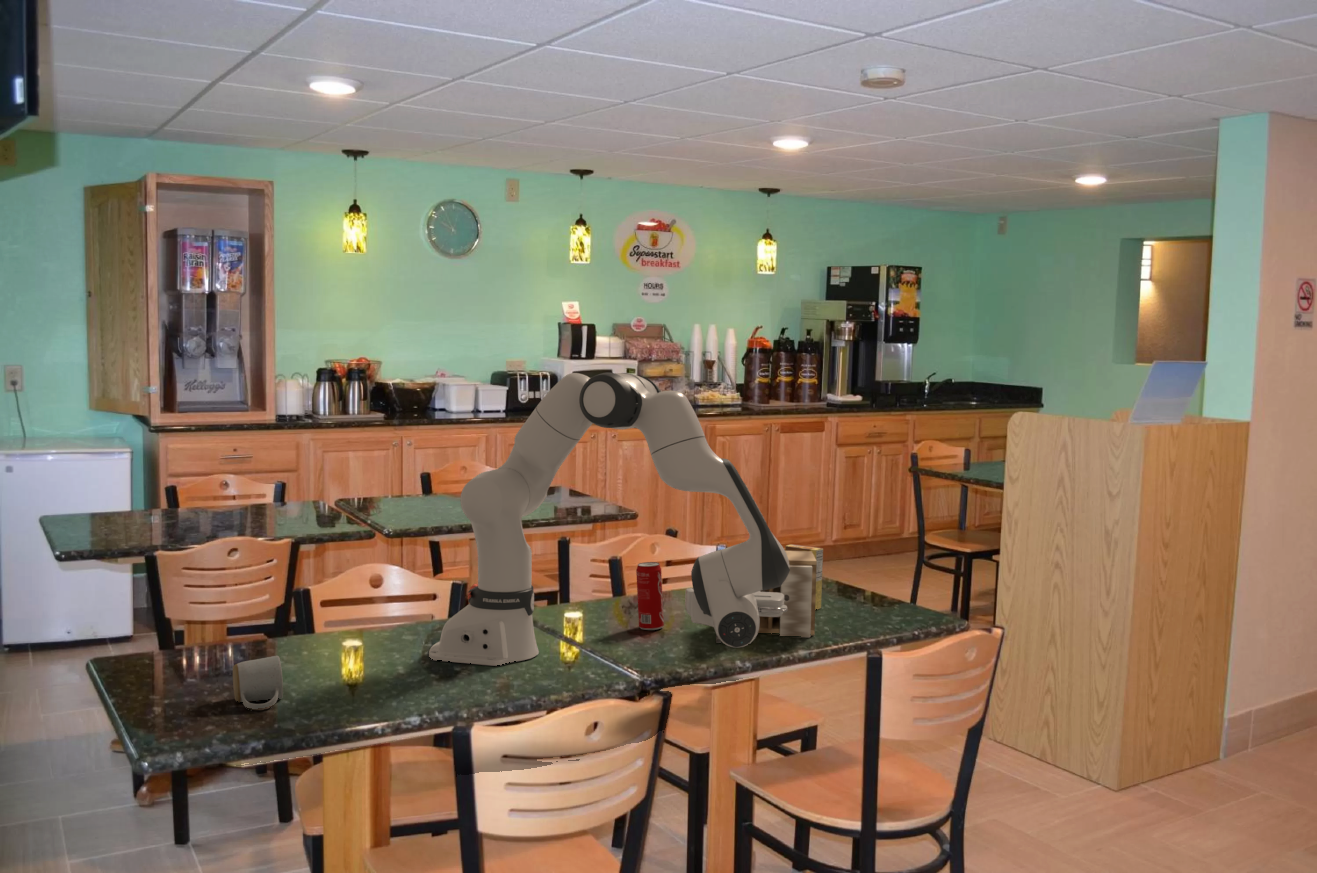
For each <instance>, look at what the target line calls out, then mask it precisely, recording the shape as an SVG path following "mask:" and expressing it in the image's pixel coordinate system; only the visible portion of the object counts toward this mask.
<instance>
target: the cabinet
mask: <svg viewBox="0 0 1317 873" xmlns="http://www.w3.org/2000/svg"><path fill="white" fill-rule="evenodd" d="M785 552H786V554H787V557H788V560H789V569H790V571H789V574H788V576H787V578H786V579H785V581H784V582H783V584H782V585H781V586H780V587H777V588H772V589H768V590H764V591H763V590H761V591H760V592H778V593H782V594H784V605H786V606H787V608H788V610H787V612H783V614H782V615H781V616H779V617H762V616H759V618H760V625H759V631H758V633H771V634H770V635H773V634H772V633H780V635H779V637H780V636H801V637H800V638H811V636H815V630H816V629H815V626H816V623H815V622H816V610H815V601H816V567H817V561H816V559H815V557H814V555H813V553H812V551H785ZM810 634H811V635H810ZM715 642H716V643H721V644H722V641H721V640H720V639H719V637H718V636H717V634H716V633H715ZM716 643H715V644H716ZM751 643H752V642H751ZM751 643H750V644H751Z"/></svg>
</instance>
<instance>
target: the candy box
mask: <svg viewBox="0 0 1317 873" xmlns="http://www.w3.org/2000/svg"><path fill="white" fill-rule="evenodd" d="M784 550H785V551H812V553H813V555H814V557H815V559H816V561H817V567H816V601H815V611H817V610H820V609H821V608H822V588H823V565H824V563H823V561H824V548H823V547H819V546H818V547H816V546H809V545H800V544H792V543H791V544H787V545H785V547H784ZM816 609H817V610H816Z"/></svg>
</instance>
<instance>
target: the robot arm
mask: <svg viewBox="0 0 1317 873" xmlns="http://www.w3.org/2000/svg"><path fill="white" fill-rule="evenodd" d="M593 424H594V425H595V426H597V427H599V428H603V429H604V428H605V429H612V430H613V429H614V430H628V429H637V430H639V431H640V432H641V433H642V435H643V436H644V438H645V442H646V443H647V446H648V449H649V450H648V451H649V453H650V455H651V459H652V462H653V464H654V467H655V470H656V471H657V474H658V476H659V478H660V479H661V481H662V482H664V483H665V484H666V485H667V486H668V487H670V488H673V489H674V490H678V491H682V492H688V493H689V492H690V493H693V492H696V493H709V494H711V493H713V494H719V495H721V496H724V498H725V497H726V498H727V499H728V500H729V501H730V502H731V503H732V505H733V507H734V508H735V510H736V512H737V514H738V516H739V518H740V520H741V521H742V523H743V525H744V527H745V528H746V531H747V533H748V534H749V537H748V539H747V540H744V542H741V543H737V544H734V545H731V546H728V547H724V548H723V549H722V548H721V549H717V550H715V551H712V552H709V553H706V554H703V555H700V556H698V557H697V558H696V560H695V561H694V563H693V566H692V568H691V571H690V572H691V573H690V574H691V583H692V587H688V588H685V594H684V596H685V597H684V598H685V601H684V608H685V611H686V613H687V614H688V615H689V617H690V619H691V622H692V623H693V624H698V625H703V626H707V627H712V628H714V631H715V635H716V634H717V636H718V637H719V639H720V640H721V643H723V644H725V645H726V646H728V647H731V648H744V647H746V646H749V645H748V644H750V643H752V642H753V641H754V640H755V639H756V638H757V636H758V635H759V634H758V631H759V625H760V618H759V616H762V617H779V616H781V615H782V614H783V612H787V610H788V608H787V606H786V605H784V594H782V593H778V592H760V591H761V590H763V591H764V590H768V589H772V588H777V587H780V586H781V585H782V584H783V582H784V581H785V579H786V578H787V576H788V574H789V571H790V569H789V560H788V557H787V554H786V552H785V547H784V546H783V545H782V544H781V543H780V541H779V540H778V539H777V537H776V536H775V534H774V533H773V531H772V530H771V529H770V528H769V526H768V523H767V521H766V520H765V517H764V515H763V513H762V512H761V510H760V508H759V506H758V505H757V503H756V501H755V499H754V496H752V493H751V492H750V490H749V488H748V486H747V484H746V483H745V482H744V480H743V479H742V476H741V475H740V473H739V472H738V470H737V468H736V467H735V465H734V464H733V462H731V460H730V459H727V458H721V457H719V456H718V455H717V454H716V453H715V451H713V449H712V448H711V447H710V445H709V442H708V440H707V438H706V435H705V432H704V430H703V427H702V425H701V422H700V420H699V418H698V416H697V413H696V411H695V410H694V408H693V405H692V404H691V402H690V401H689V399H688V397H687V396H686V395H685V394H684V393H682V392H680V391H677V390H663V391H661V389H660V387H659V386H658V385H657V384H656V383H655V382H654V381H653V380H651V379H650V378H647V377H645V376H643V375H637V374H633V373H628V372H620V373H618V372H617V373H616V372H615V373H614V372H603V373H598V374H596V375H594V376H592V377H589V376H588V375H586V374H583V373H579V372H571V373H568V374H566V375H565V376H564V377H562V378H561V379H560V380H559V381H557V382H556V384H555V385H553V387H552V388H550V390H549V391H548V392H547V393H546V394H545V395H544V396H543V398H542V399H541V400H540V402H539V403H538V404H537V405H536V406H535V408H534V410H533V411H532V412H531V414H530V415H529V416H528V418H527V419H526V421H525V422H524V423H523V424H522V426H521V427H520V429H518V431H517V432H516V434H515V435H514V436H515V437H514V444H513V446H512V449H511V451H510V453H509V456H508V458H507V459H506V461H505V462H504V463H503V464H502V465H501V466H500V467H498V468H496V469H492V470H487V471H483V472H481V473H479V474H477V475H476V476H475V477H473V478H471V479H470V480H469V481H468V482H467V483H465V485H464V487H462V491H461V494H460V499H459V500H460V506H461V510H462V512H463V514H464V516H465V517H466V518H467V519H468V520H469V522H470V524H471V527H472V531H473V535H474V539H475V544H476V549H477V550H476V551H477V583H474V584H472V585H471V586H470V587H469V590H468V592H467V601H468V604H467V605H466V606H465V607H463V608H462V609H461V610H459V611H458V612H457V613H455V614H454V615H453V616H451V617H450V618H449V619H448V620H447V621H446V622H445V623H444V626H442V630H441V632H440V633H441V635H440V638H439V641H437V642H436V643H435V644H433V645H432V646H431V647H430V649H429V652H428V657H430V658H431V659H430V658H429V659H430V660H432V659H433V660H432V661H437V660H442V661H441V662H448V661H450V663H451V662H452V663H461V664H470V663H471V665H482V666H495V667H498V666H497V665H500V666H503V665H502V664H504V665H506V664H505V663H507V664H510V663H515V662H514V661H516V662H521V661H525V660H530V659H533V658H534V657H536V656H537V655H539V653H540V651H539V648H538V645H537V644H538V643H537V639H536V635H535V628H534V619H533V613H534V609H535V592H534V586H533V584H532V575H533V573H532V572H533V571H532V569H533V568H532V565H533V564H532V562H533V561H532V560H533V559H532V557H533V554H532V553H533V552H532V547H531V546H530V544H528V542H527V539H526V537H525V533H524V532H525V531H524V529H523V523H522V519H523V517H526V516H528V515H532V513H534V511H536V510H537V509H539V507H540V506H541V505H542V504H543V503H544V502H545V500H546V499H547V498H546V497H547V496H548V490H549V489H550V487H551V485H552V482H553V480H554V478H555V477H556V475H557V473H558V472H559V469H560V468H561V466H562V465H563V464H564V462H565V460H566V459H567V458H568V456H569V455H570V454H571V453H572V451H573V450H574V449H575V447H576V446H577V445H578V443H579V442H580V441H581V440H582V438H583V436H585V434H586V432H587V431H588V430H589V429H590V428H591V426H592V425H593ZM509 662H510V663H509Z"/></svg>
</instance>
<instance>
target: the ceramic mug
mask: <svg viewBox="0 0 1317 873" xmlns="http://www.w3.org/2000/svg"><path fill="white" fill-rule="evenodd" d="M281 662H282V661H281V658H280V656H279V655H272V656H267V657H262V658H257V659H250V660H249V659H248V660H246V661H244V660H243V661H241V662H238V663H235V664H234V665H233V666H232V684H233V685H232V686H233V687H232V688H233V696H234V700H235V702H237V701H238V702H237V703H240V702H243V703H242V704H243V706H244V707H245V708H246V707H247V708H252V709H258V708H265V707H269V706H272V705H274V704H275V703H277V701H278V700H279V699H278V698H282V699H283V694H284V686H283V685H284V684H283V683H284V681H283V680H284V679H283V670H282V664H281ZM268 699H271V700H268ZM258 700H267V702H265V703H253V702H249V701H256V702H259V701H258ZM275 705H276V704H275ZM275 705H274V706H275ZM247 708H246V709H247Z"/></svg>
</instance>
